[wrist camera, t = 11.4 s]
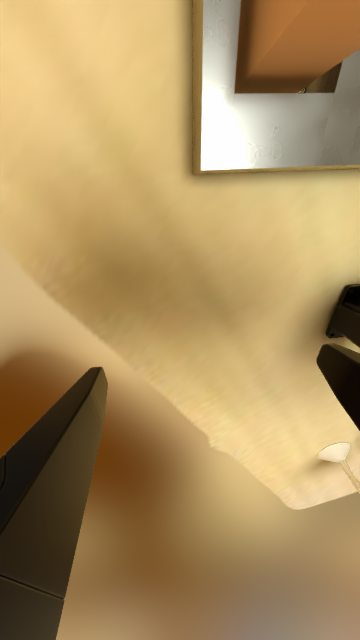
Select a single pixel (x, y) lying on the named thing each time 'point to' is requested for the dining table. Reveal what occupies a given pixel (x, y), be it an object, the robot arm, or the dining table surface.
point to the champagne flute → (340, 459)
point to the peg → (292, 42)
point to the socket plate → (266, 108)
